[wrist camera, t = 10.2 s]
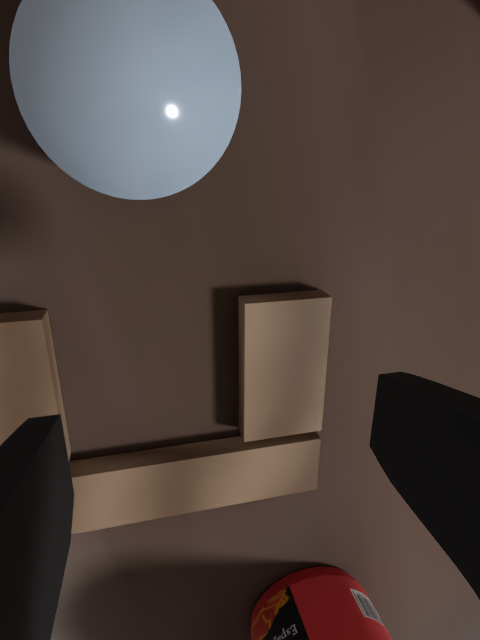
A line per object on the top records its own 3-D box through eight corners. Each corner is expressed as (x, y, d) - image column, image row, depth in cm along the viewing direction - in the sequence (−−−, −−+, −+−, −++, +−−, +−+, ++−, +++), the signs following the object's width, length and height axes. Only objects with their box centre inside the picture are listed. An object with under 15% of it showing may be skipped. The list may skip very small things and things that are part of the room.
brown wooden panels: (-8, 529, 20) (-16, 550, 19) (-64, 317, 16) (-78, 328, 15) (308, 474, 24) (316, 489, 23) (321, 289, 20) (332, 297, 19)
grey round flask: (208, 187, 17) (240, 198, 12) (61, 188, 16) (30, 201, 11) (202, -97, 14) (243, -238, 9) (18, -123, 13) (-51, -302, 8)
